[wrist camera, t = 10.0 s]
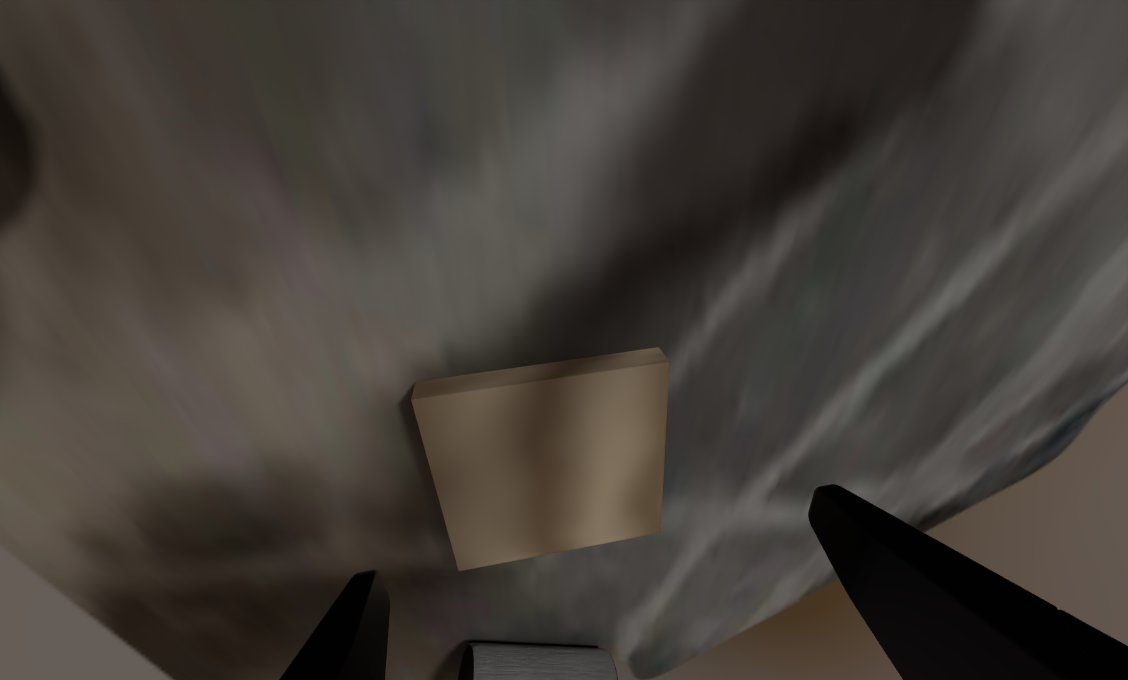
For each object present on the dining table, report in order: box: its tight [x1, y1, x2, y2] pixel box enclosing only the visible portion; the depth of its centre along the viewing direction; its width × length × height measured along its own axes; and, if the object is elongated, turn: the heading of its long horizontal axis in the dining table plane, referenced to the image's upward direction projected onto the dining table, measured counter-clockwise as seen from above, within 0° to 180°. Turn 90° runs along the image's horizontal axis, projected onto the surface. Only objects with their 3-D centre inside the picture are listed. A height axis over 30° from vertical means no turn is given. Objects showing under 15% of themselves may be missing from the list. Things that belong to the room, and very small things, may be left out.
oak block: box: [411, 347, 669, 571], centre depth 24 cm, size 12×12×2 cm
